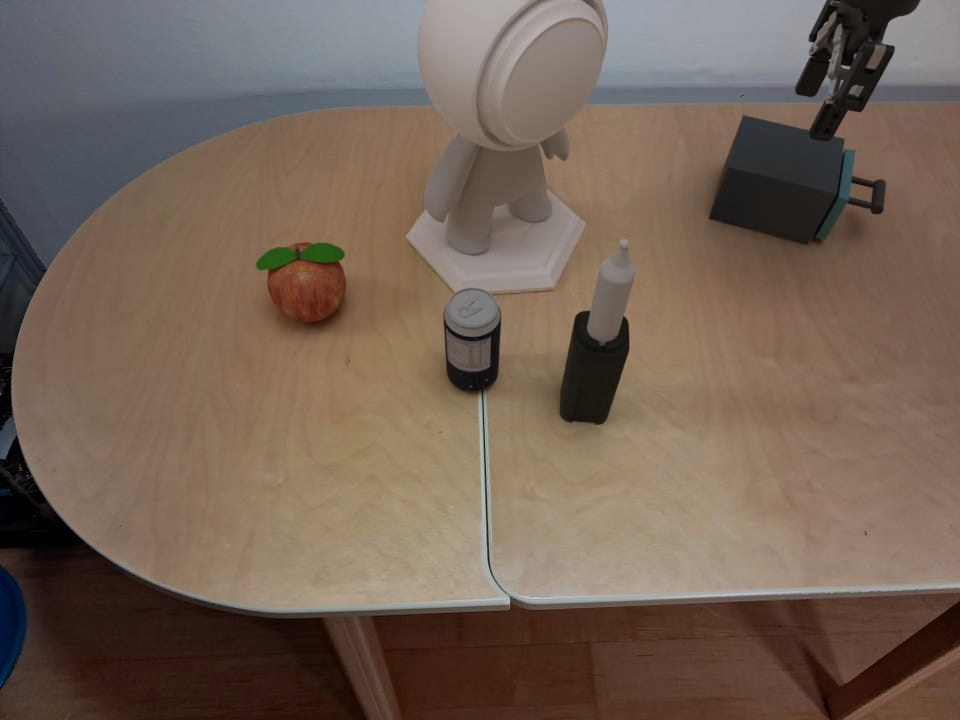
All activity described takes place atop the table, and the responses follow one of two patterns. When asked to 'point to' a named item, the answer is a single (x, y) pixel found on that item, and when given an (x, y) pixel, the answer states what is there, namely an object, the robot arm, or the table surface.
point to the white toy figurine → (504, 136)
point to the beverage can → (472, 339)
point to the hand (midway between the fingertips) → (810, 115)
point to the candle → (599, 344)
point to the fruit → (305, 279)
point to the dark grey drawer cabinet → (777, 180)
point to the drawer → (844, 192)
